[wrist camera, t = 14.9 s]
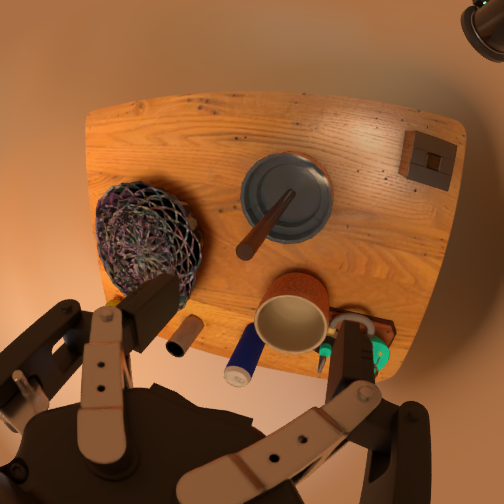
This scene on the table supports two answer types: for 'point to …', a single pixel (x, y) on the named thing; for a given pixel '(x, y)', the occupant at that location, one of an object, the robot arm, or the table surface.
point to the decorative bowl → (147, 237)
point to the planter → (293, 314)
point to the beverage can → (244, 358)
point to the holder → (438, 160)
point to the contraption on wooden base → (375, 328)
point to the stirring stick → (263, 227)
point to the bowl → (275, 186)
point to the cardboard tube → (184, 336)
